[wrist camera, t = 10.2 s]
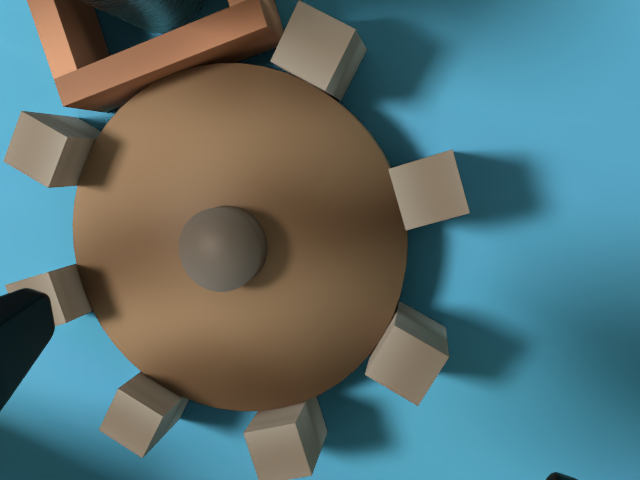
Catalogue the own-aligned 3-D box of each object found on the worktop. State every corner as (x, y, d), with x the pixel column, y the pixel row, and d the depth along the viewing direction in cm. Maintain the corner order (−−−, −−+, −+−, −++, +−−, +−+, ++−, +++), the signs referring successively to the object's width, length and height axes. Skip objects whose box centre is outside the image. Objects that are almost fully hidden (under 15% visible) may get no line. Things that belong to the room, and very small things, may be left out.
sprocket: (516, 397, 19) (531, 439, 16) (129, 468, 23) (87, 512, 20) (341, -241, 17) (323, -322, 14) (-50, -43, 21) (-126, -74, 18)
